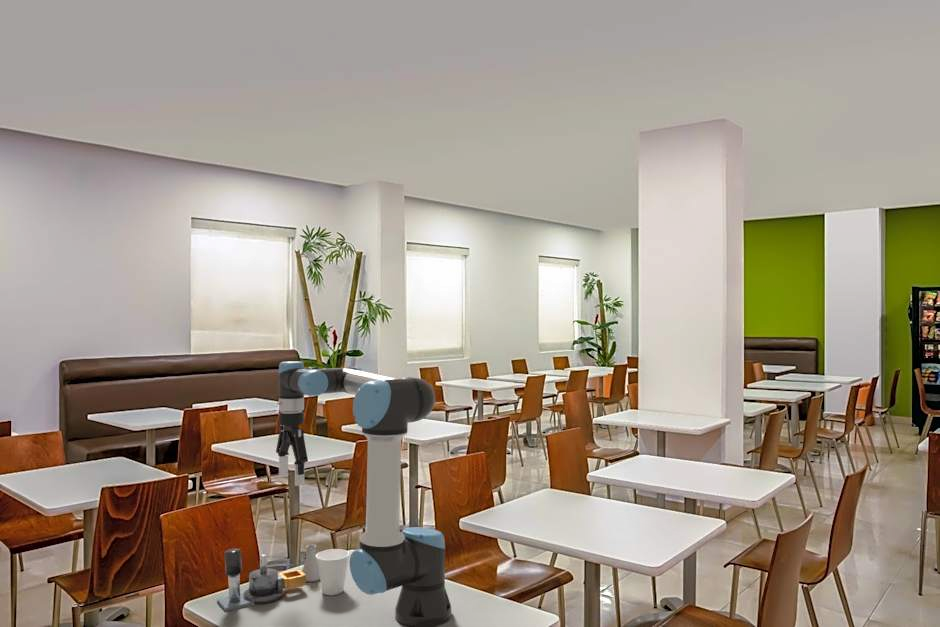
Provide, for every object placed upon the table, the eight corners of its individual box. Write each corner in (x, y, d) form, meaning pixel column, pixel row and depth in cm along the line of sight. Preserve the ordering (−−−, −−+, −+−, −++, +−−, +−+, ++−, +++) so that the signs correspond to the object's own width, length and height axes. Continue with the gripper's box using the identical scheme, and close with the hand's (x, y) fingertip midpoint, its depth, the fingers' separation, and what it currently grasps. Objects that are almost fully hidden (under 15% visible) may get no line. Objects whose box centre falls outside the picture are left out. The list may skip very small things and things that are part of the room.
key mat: (254, 604, 198) (254, 601, 198) (225, 611, 194) (225, 608, 194) (245, 595, 205) (245, 592, 205) (217, 601, 200) (217, 599, 200)
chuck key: (235, 596, 202) (233, 547, 202) (246, 598, 200) (244, 549, 200) (223, 602, 198) (221, 552, 198) (234, 604, 196) (232, 554, 196)
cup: (353, 586, 212) (353, 549, 212) (344, 598, 202) (344, 560, 202) (321, 584, 213) (321, 548, 213) (311, 597, 203) (311, 559, 203)
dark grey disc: (288, 598, 203) (288, 593, 203) (250, 607, 196) (250, 602, 196) (275, 586, 212) (275, 581, 212) (238, 595, 205) (238, 589, 205)
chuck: (253, 598, 198) (253, 561, 198) (245, 589, 205) (245, 554, 205) (307, 586, 207) (307, 551, 207) (297, 578, 214) (297, 544, 214)
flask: (294, 581, 216) (294, 548, 216) (306, 573, 223) (306, 541, 223) (315, 583, 214) (315, 550, 214) (327, 575, 221) (327, 543, 221)
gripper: (265, 408, 225) (265, 475, 224) (294, 417, 204) (294, 490, 204) (288, 406, 229) (288, 472, 229) (318, 415, 208) (319, 487, 208)
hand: (291, 481), depth 216 cm, fingers open, 13 cm apart
